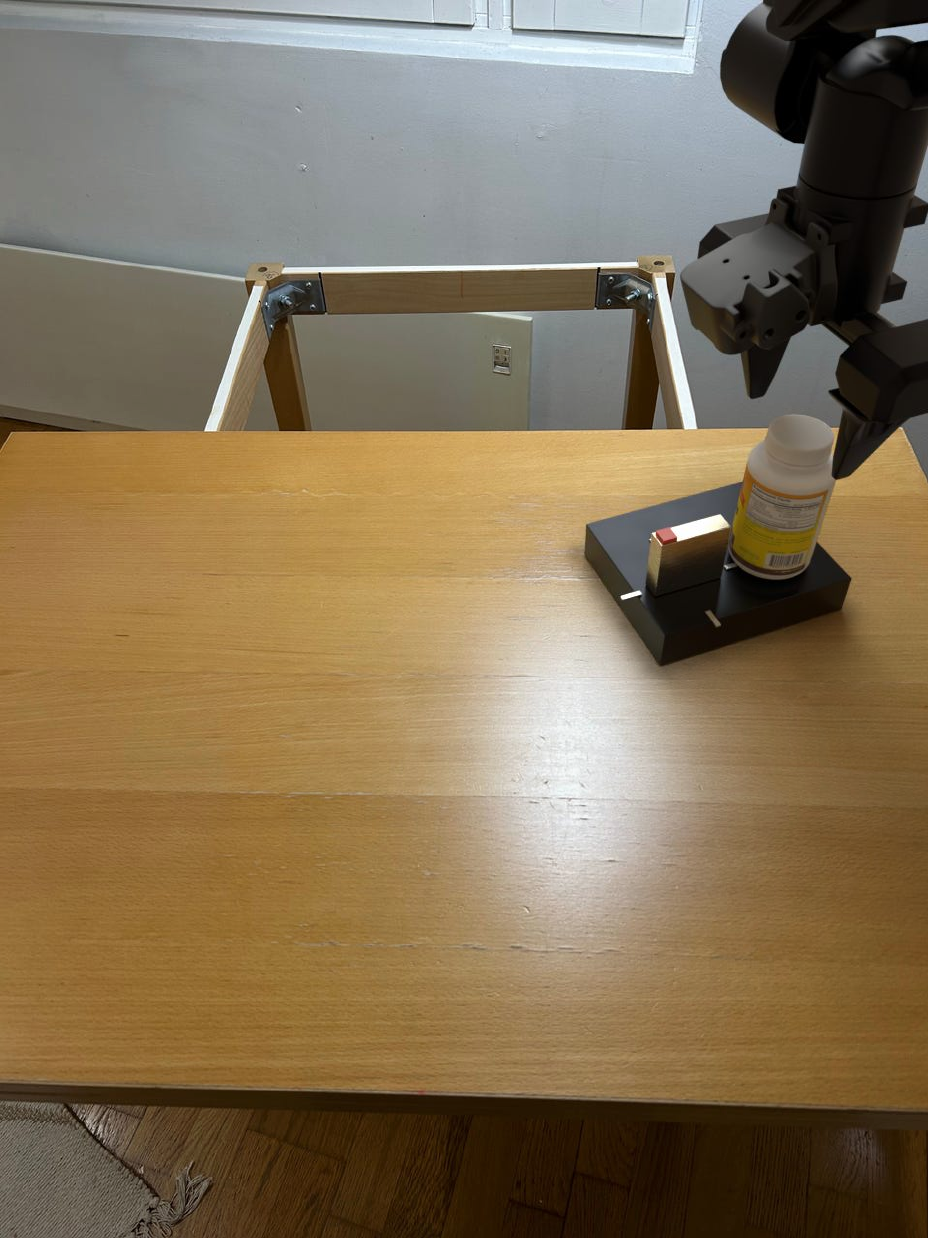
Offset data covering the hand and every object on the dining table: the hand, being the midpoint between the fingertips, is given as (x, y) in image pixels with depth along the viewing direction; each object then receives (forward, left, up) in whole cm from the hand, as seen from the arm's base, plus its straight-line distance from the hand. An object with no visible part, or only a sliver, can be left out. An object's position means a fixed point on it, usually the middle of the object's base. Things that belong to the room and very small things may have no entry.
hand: (795, 434), depth 61 cm
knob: (+4, +5, -10) cm, 12 cm away
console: (+3, +1, -13) cm, 13 cm away
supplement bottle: (0, 0, -10) cm, 10 cm away
